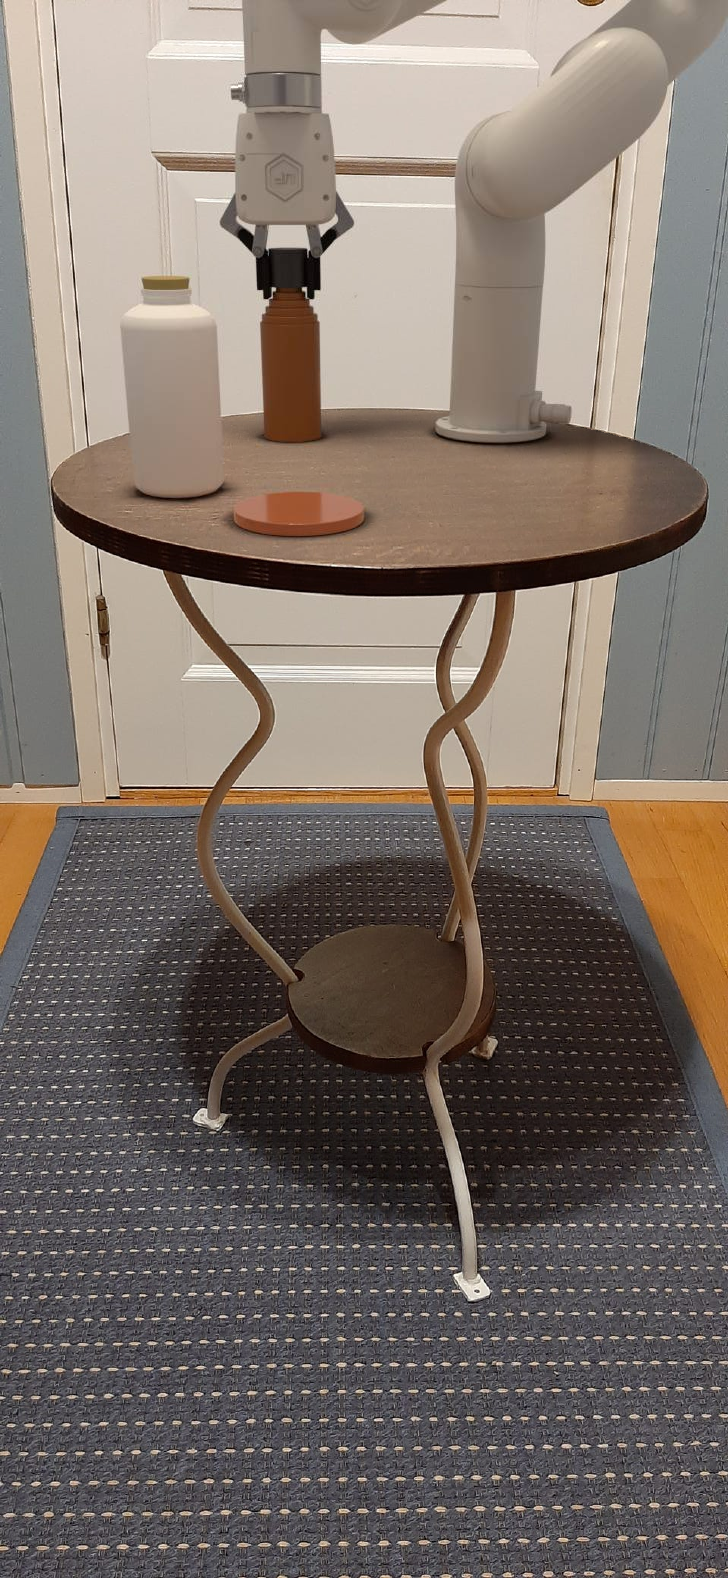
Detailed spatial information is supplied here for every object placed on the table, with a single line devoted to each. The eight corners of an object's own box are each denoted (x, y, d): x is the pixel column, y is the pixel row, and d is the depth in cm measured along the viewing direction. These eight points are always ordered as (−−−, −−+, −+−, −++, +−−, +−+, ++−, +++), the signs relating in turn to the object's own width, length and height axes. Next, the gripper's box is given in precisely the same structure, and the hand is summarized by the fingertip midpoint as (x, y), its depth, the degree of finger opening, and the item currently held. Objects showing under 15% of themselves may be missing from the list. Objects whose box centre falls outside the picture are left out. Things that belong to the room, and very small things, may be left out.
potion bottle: (126, 483, 108) (108, 274, 100) (213, 477, 111) (202, 273, 103) (142, 503, 102) (124, 281, 93) (234, 496, 104) (224, 280, 96)
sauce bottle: (330, 433, 131) (328, 254, 122) (306, 443, 125) (303, 257, 117) (279, 429, 133) (274, 252, 124) (254, 439, 127) (246, 256, 119)
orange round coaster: (382, 510, 100) (383, 498, 100) (332, 542, 91) (332, 529, 91) (269, 498, 104) (269, 486, 103) (210, 527, 95) (209, 515, 94)
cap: (271, 284, 124) (269, 247, 122) (309, 284, 124) (308, 247, 122) (268, 288, 120) (266, 249, 118) (307, 288, 120) (306, 249, 118)
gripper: (194, 95, 110) (206, 301, 119) (368, 95, 110) (367, 301, 119) (204, 100, 117) (214, 295, 126) (368, 100, 117) (367, 295, 126)
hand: (289, 296), depth 122 cm, fingers closed on cap, 4 cm apart
